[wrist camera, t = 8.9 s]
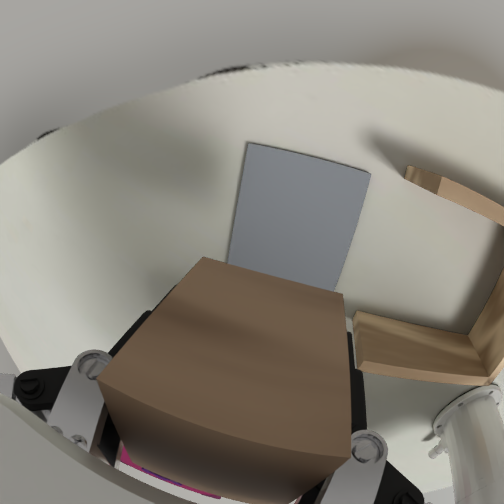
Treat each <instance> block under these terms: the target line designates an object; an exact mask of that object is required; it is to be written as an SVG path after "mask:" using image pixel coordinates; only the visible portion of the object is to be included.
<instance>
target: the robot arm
mask: <svg viewBox="0 0 504 504" xmlns="http://www.w3.org/2000/svg"><path fill="white" fill-rule="evenodd" d="M176 286H177V285H175V286H174V287H173V288H172V289H171V290H170V292H171V291H172V290H173V289H174V288H175V287H176ZM170 292H169V293H170ZM169 293H168V294H169ZM168 294H167V295H166V296H165V297H164V298H163V299H162V300H161V302H162V301H163V300H164V299H165V298H166V297H167V296H168ZM161 302H160V303H161ZM160 303H159V304H158V305H157V306H156V307H155V308H154V309H153V311H154V310H155V309H156V308H157V307H158V306H159V305H160ZM153 311H150V310H148V311H146V312H144V313H143V314H142V315H141V317H140V318H139V319H138V320H137V321H136V322H135V323H134V324H133V325H132V326H131V328H130V329H129V330H128V331H127V332H126V333H125V334H124V335H123V336H122V338H121V339H120V340H119V341H118V342H117V343H116V344H115V345H114V347H113V348H112V349H111V350H110V351H109V352H108V353H107V352H104V351H101V350H88V351H85V352H82V353H81V354H80V355H78V356H77V358H76V359H75V361H74V363H73V365H72V366H67V367H58V368H49V369H39V370H29V371H25V372H23V373H22V374H20V375H19V376H18V377H16V376H15V374H2V373H1V374H0V504H197V503H194V502H191V501H188V500H185V499H182V498H179V497H177V496H174V495H172V494H169V493H167V492H164V491H162V490H159V489H157V488H155V487H152V486H150V485H148V484H146V483H143V482H141V481H139V480H137V479H135V478H133V477H131V476H129V475H127V474H125V473H123V472H121V471H119V465H120V460H121V455H122V450H123V443H122V441H121V439H120V437H119V434H118V432H117V430H116V428H115V426H114V423H113V421H112V419H111V416H110V414H109V411H108V409H107V406H106V404H105V401H104V399H103V396H102V393H101V391H100V388H99V385H98V382H97V379H96V378H97V377H98V376H99V374H100V373H101V372H102V371H103V370H104V368H105V367H106V366H107V365H108V364H109V362H110V361H111V360H112V359H113V358H114V356H115V355H116V354H117V353H118V352H119V351H120V349H121V348H122V347H123V346H124V345H125V344H126V342H127V341H128V340H129V339H130V338H131V337H132V335H133V334H134V333H135V332H136V331H137V330H138V328H139V327H140V326H141V325H142V324H143V323H144V322H145V320H146V319H147V318H148V317H149V316H150V315H151V314H152V312H153ZM347 341H348V354H349V370H350V390H351V458H350V459H349V460H348V461H346V462H345V463H344V464H343V465H342V466H340V467H339V468H338V469H337V470H336V471H334V472H333V473H332V474H330V475H329V476H328V477H327V478H325V479H324V480H323V481H321V482H320V483H318V484H317V485H316V486H314V487H313V488H312V489H310V490H309V491H307V492H306V493H304V494H303V495H301V496H300V497H298V498H297V500H296V501H295V503H294V504H426V503H425V502H424V497H423V494H422V493H421V491H420V490H419V489H418V488H417V487H416V486H415V485H413V484H412V483H411V482H410V481H409V480H408V479H407V478H406V477H404V476H403V475H402V474H401V473H400V472H399V471H398V470H397V469H396V468H395V467H394V466H392V465H391V464H390V463H389V462H388V461H387V460H386V459H387V455H388V447H387V444H386V442H385V440H384V439H383V438H382V437H381V436H380V435H379V434H378V433H376V432H374V431H370V430H367V422H366V405H365V392H364V381H363V373H362V371H361V370H359V369H355V364H354V353H353V343H352V334H351V332H347ZM501 399H502V392H501V390H500V388H499V387H498V386H496V385H489V386H481V387H478V388H476V389H473V390H471V391H469V392H467V393H465V394H464V395H462V396H460V397H459V398H457V399H456V400H454V401H453V402H452V403H450V404H449V405H448V406H447V407H446V408H445V409H444V410H442V411H441V413H440V414H439V415H438V416H437V418H436V419H435V421H434V424H433V429H434V433H435V434H436V435H437V436H439V437H441V440H440V441H439V444H438V445H436V446H435V447H434V448H433V449H432V450H430V451H429V453H428V454H429V457H430V458H432V459H434V458H436V457H437V456H438V455H440V454H441V453H442V452H443V451H445V453H448V454H449V460H450V466H451V472H452V479H453V487H454V496H455V504H504V424H503V421H502V418H501V416H500V413H499V410H498V408H497V407H498V406H499V404H500V402H501ZM427 504H431V503H430V502H428V503H427Z"/></svg>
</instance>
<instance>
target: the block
mask: <svg viewBox="0 0 504 504" xmlns="http://www.w3.org/2000/svg"><path fill="white" fill-rule="evenodd" d="M96 379H97V382H98V385H99V388H100V391H101V393H102V396H103V399H104V401H105V404H106V406H107V409H108V411H109V414H110V416H111V419H112V421H113V423H114V426H115V428H116V430H117V432H118V434H119V437H120V439H121V441H122V443H123V445H124V447H125V449H126V451H127V453H128V455H129V457H130V459H131V461H132V463H134V464H136V465H138V466H141V467H143V468H145V469H147V470H149V471H151V472H154V473H156V474H158V475H161V476H163V477H165V478H168V479H170V480H173V481H175V482H178V483H181V484H183V485H186V486H189V487H192V488H195V489H198V490H201V491H204V492H207V493H210V494H214V495H217V496H221V497H225V498H228V499H232V500H236V501H240V502H245V503H249V504H289V503H291V502H292V501H294V500H295V499H297V498H298V497H300V496H301V495H303V494H304V493H306V492H307V491H309V490H310V489H312V488H313V487H314V486H316V485H317V484H318V483H320V482H321V481H323V480H324V479H325V478H327V477H328V476H329V475H330V474H332V473H333V472H334V471H336V470H337V469H338V468H339V467H340V466H342V465H343V464H344V463H345V462H346V461H348V460H349V459H350V458H351V390H350V370H349V354H348V341H347V330H346V320H345V310H344V301H343V294H341V293H337V292H333V291H329V290H325V289H321V288H317V287H314V286H310V285H306V284H302V283H298V282H294V281H291V280H287V279H283V278H279V277H276V276H272V275H268V274H264V273H261V272H257V271H253V270H250V269H246V268H242V267H239V266H235V265H231V264H228V263H224V262H220V261H217V260H213V259H210V258H206V257H202V258H201V259H200V260H199V261H198V263H197V264H196V265H195V266H194V267H193V268H192V269H191V270H190V271H189V272H188V273H187V275H186V276H185V277H184V278H183V279H182V280H181V281H180V282H179V283H178V284H177V286H176V287H175V288H174V289H173V290H172V291H171V292H170V293H169V294H168V296H167V297H166V298H165V299H164V300H163V301H162V302H161V303H160V305H159V306H158V307H157V308H156V309H155V310H154V311H153V312H152V314H151V315H150V316H149V317H148V318H147V319H146V320H145V322H144V323H143V324H142V325H141V326H140V327H139V328H138V330H137V331H136V332H135V333H134V334H133V335H132V337H131V338H130V339H129V340H128V341H127V342H126V344H125V345H124V346H123V347H122V348H121V349H120V351H119V352H118V353H117V354H116V355H115V356H114V358H113V359H112V360H111V361H110V362H109V364H108V365H107V366H106V367H105V368H104V370H103V371H102V372H101V373H100V374H99V376H98V377H97V378H96Z"/></svg>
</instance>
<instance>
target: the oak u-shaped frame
mask: <svg viewBox="0 0 504 504" xmlns="http://www.w3.org/2000/svg"><path fill="white" fill-rule="evenodd" d="M404 179H406V180H408V181H410V182H412V183H414V184H416V185H418V186H420V187H422V188H424V189H426V190H428V191H430V192H432V193H434V194H436V195H438V196H441V197H443V198H445V199H448V200H450V201H452V202H455V203H457V204H459V205H461V206H464V207H466V208H468V209H470V210H472V211H474V212H477V213H479V214H481V215H483V216H485V217H487V218H489V219H491V220H493V221H495V222H497V223H499V224H501V225H502V226H504V207H503V206H501V205H499V204H498V203H496V202H494V201H492V200H490V199H488V198H487V197H485V196H483V195H481V194H479V193H477V192H475V191H473V190H471V189H469V188H467V187H465V186H463V185H461V184H459V183H456V182H454V181H452V180H450V179H448V178H445V177H443V176H440V175H438V174H435V173H432V172H429V171H425V170H422V169H419V168H416V167H413V166H409V165H408V166H407V170H406V174H405V177H404ZM352 322H353V331H354V339H355V349H356V359H357V369H359V370H361V371H362V372H367V373H373V374H379V375H385V376H391V377H398V378H405V379H412V380H420V381H429V382H438V383H449V384H462V385H478V386H489V385H490V384H491V383H492V382H493V380H494V379H495V378H496V377H497V375H498V374H499V373H500V371H501V370H502V369H503V367H504V268H503V270H502V272H501V275H500V277H499V279H498V281H497V283H496V285H495V287H494V289H493V291H492V293H491V295H490V297H489V299H488V301H487V303H486V305H485V307H484V309H483V310H482V312H481V314H480V316H479V317H478V319H477V321H476V323H475V324H474V326H473V328H472V329H471V331H470V333H469V334H468V335H463V334H458V333H453V332H448V331H444V330H439V329H434V328H430V327H425V326H421V325H416V324H412V323H407V322H403V321H399V320H394V319H390V318H386V317H382V316H377V315H373V314H369V313H365V312H361V311H356V313H355V315H354V317H353V320H352Z"/></svg>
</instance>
